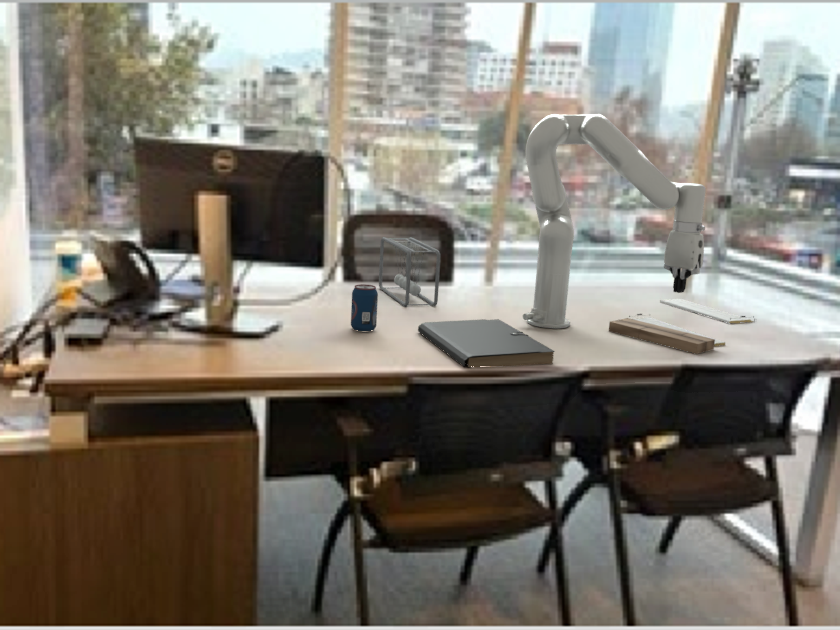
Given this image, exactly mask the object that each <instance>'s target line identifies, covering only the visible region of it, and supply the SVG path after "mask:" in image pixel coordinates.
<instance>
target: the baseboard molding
mask: <svg viewBox="0 0 840 630" xmlns="http://www.w3.org/2000/svg"><path fill="white" fill-rule="evenodd" d="M659 303H661V304H664V305H667V306H670V307H673V306H674V308H676V307H677V309H680V308H681V309H680V310H683V309H684V310H683V311H686V310H688V311H687V312H689V311H691V312H690V313H693V312H695V313H694V314H696V313H699V314H702V315H705V316H709V317H712V318H715V319H718V320H721V321H724V322H723V323H725V322H727V323H726V324H728V323H736V324H741V323H740V322H748V323H755V322H756V321H757V318H755V316H754V315H753V316H752V318H753V319H750V318H748V317H746V315H737V314H733V313H731V312H727V311H723V310H719V309H717V308H713V307H710V306H708V305H703V304H699V303H696V302H693V301H690V300H687V299H683V298H674V299H673V298H671V299H660V300H659ZM699 314H698V315H699ZM702 315H701V316H702ZM705 316H704V317H705ZM709 317H708V318H709ZM712 318H711V319H712ZM715 319H714V320H715ZM718 320H717V321H718ZM721 321H720V322H721Z"/></svg>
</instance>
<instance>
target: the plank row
mask: <svg viewBox="0 0 840 630" xmlns="http://www.w3.org/2000/svg"><path fill="white" fill-rule="evenodd" d="M634 319H635V318H634ZM634 319H633V318H630V317H629V318H628V317H626V318H622V319H621V318H620V319H617V320H611V321H609V325H608V332H609V333H614V334H619V335H622V336H625V335H626V337H629V336H630V338H633V337H634V339H637V338H638V339H637V340H641V339H642V340H641V341H644V340H646V341H645V342H648V341H651V342H650V343H652V342H654V343H653V344H656V343H658V344H657V345H660V344H662V345H661V346H663V345H666V346H665V347H667V346H670V347H669V348H671V347H674V348H673V349H675V348H677V349H676V350H679V349H681V350H680V351H682V350H684V352H686V351H688V352H687V353H690V352H692V353H691V354H694V353H695V354H694V355H699V354H702V352H703V353H706V352H709V351H713V350H714V349H715V346H714V343H715V339H716V338H714V339H711V338H712V337H711V338H707V337H703V336H699V335H695V334H691V333H686V332H682V331H678V330H674V329H670V328H666V327H662V326H658V325H654V324H650V323H646V322H642V321H638V320H634Z"/></svg>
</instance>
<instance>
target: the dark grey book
mask: <svg viewBox="0 0 840 630" xmlns="http://www.w3.org/2000/svg"><path fill="white" fill-rule="evenodd" d="M417 332H418V333H419V332H420V333H421V334H420V333H419V334H420V335H422V334H423V335H424V336H425V338H426V337H427V338H428V339H429V341H430V340H431V341H432V342H433V343H432V342H431V341H430V342H431V343H432V344H434V345H435V344H436V345H437V346H438V347H437V346H436V345H435V346H436V347H437V348H439V347H440V348H441V349H442V350H441V349H440V348H439V349H440V350H441V351H443V350H444V351H445V352H446V354H447V353H448V354H449V355H450V356H449V355H448V354H447V355H448V356H449V357H450V358H452V357H453V358H454V359H453V358H452V359H453V360H454V361H456V360H457V361H458V362H459V363H458V362H457V361H456V362H457V363H458V364H460V363H461V364H462V365H463V366H462V365H461V364H460V365H461V366H462V367H464V366H465V365H466V364H468V365H469V366H468V365H467V366H468V367H471V366H472V367H473V366H474V367H480V366H503V367H516V366H517V367H519V366H531V365H532V366H537V365H552V364H553V362H554V355H555V352H556V351H555V350H554V349H551V348H550V347H548V346H547V345H544V344H543V343H542V342H540V341H537V340H536V339H534V338H532V337H530V336H529V335H528V334H525V333H524V332H523V331H520V330H518V329H516V327H513V326H511V325H510V324H508V323H506V322H505V321H503V320H502V319H499V318H497V319H486V318H485V319H482V318H481V319H464V320H445V321H444V320H443V321H427V322H422V323H420V324H419V325H418V327H417ZM423 335H422V336H423ZM424 336H423V337H424ZM427 338H426V339H427ZM428 339H427V340H428ZM444 351H443V352H444ZM445 352H444V353H445ZM465 363H466V364H465Z"/></svg>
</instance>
